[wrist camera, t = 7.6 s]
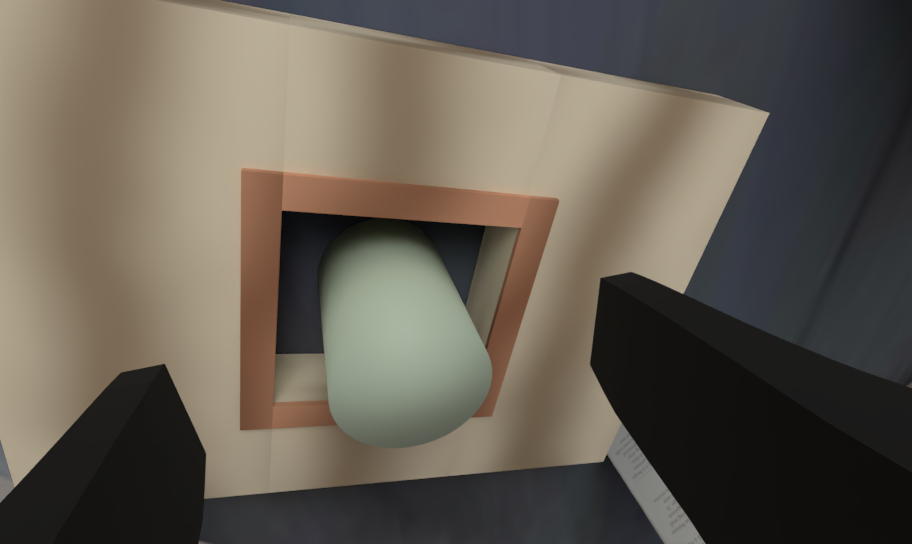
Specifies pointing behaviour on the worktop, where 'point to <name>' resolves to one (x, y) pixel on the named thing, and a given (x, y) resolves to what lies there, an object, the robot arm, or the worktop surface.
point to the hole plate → (329, 192)
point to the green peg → (397, 338)
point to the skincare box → (651, 492)
